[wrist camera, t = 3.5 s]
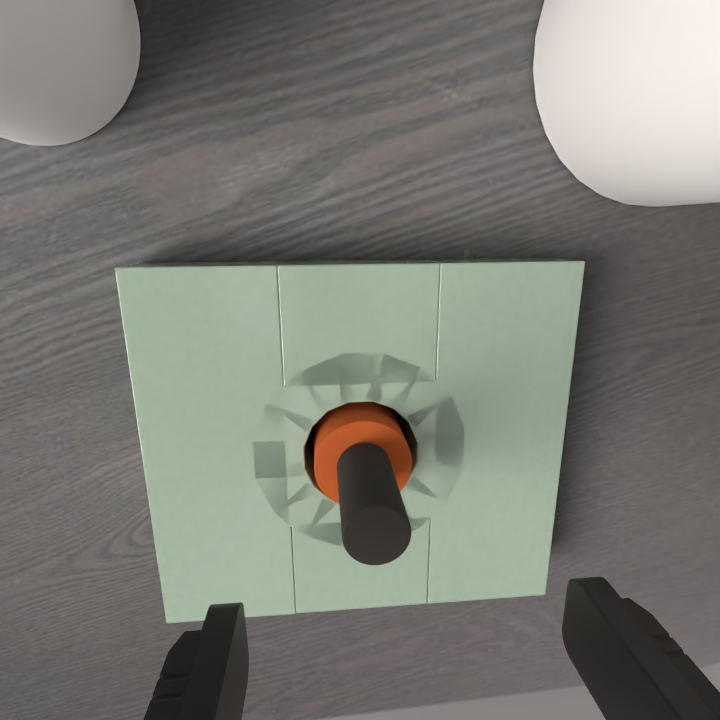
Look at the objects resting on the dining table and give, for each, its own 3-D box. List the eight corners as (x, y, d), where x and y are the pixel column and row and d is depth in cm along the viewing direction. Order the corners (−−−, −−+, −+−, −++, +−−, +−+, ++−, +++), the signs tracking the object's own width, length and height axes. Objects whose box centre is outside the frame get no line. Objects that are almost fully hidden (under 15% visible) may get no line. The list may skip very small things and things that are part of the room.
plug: (315, 470, 23) (315, 594, 15) (313, 393, 21) (310, 483, 14) (397, 466, 23) (437, 585, 15) (398, 390, 22) (442, 475, 14)
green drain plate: (181, 584, 24) (166, 623, 21) (139, 263, 19) (113, 267, 17) (523, 560, 25) (545, 595, 23) (554, 257, 21) (585, 261, 18)
